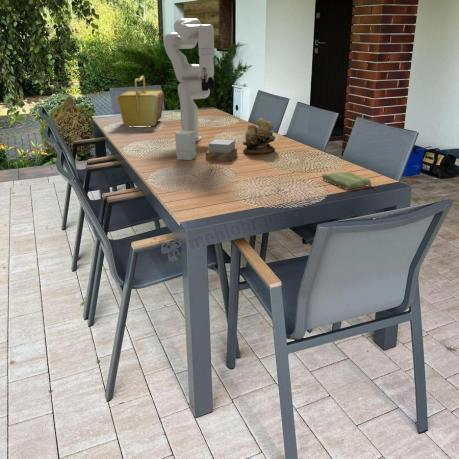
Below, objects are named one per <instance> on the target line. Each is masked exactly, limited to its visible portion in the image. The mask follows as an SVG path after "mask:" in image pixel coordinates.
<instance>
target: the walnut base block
mask: <svg viewBox="0 0 459 459" xmlns="http://www.w3.org/2000/svg"><path fill="white" fill-rule="evenodd" d="M237 156H238V148H236V147H235V149H234V150H232V151H231V152H230V153H219V152H209V150H207V151H205V160H206V161H219V162H230V161H232V160H233V159H234V158H236V157H237Z"/></svg>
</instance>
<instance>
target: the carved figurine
mask: <svg viewBox="0 0 459 459" xmlns="http://www.w3.org/2000/svg"><path fill="white" fill-rule="evenodd" d="M256 123H257V126H256V125H255V124H252V123H250V124H249V125H248V126H247V130H246V131H245V135H244V138H245V141H243V142H242V145H243V146H246V147H245V148H244V149H243V151H242V153H243V154H245V155H248V156H251V155H252V156H260V155H268V154H272V153H274V152H275V151H276V148H274V146H273V145H271V144H270V143H272V142H275V140H276V135H274V130H273V127H274V126H273V122H272V121H269V120H266V119H265V118H262V117H259V118H258V119H257V121H256Z"/></svg>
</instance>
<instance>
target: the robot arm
mask: <svg viewBox="0 0 459 459" xmlns="http://www.w3.org/2000/svg"><path fill="white" fill-rule="evenodd" d="M173 30H174V32H169V33H167V34H165V36H164V37H163V44H164V45H163V46H164V49H165V53H166V55H167V57H168V58H169V60H170V61H171V64H172V67H173V71H174V74H175V78H176V80H177V81H178V82H179V84H178V85H177V94H178V100H179V107H180V125H181V131H195V142H198V141H201V140H203V138H202V136H201V135H199V107H198V105H197V104H196V103H195V102H194V100H201V99H207V98H208V97H210V93H211V92H210V91H211V90H214V89H215V76H214V75H215V66H214V65H215V64H214V63H215V62H214V56H215V29H214V25H213V24H208V23H207V24H206V23H205V24H202V23H201V21H200V20H199V19H198V18H193V17H191V18H186V17H185V18H178V19H177V20H175V21H174V24H173ZM197 44H198V57H199V60H198V61H199V64H198V63H197V64H196V63H189V62H188V59H187V58H188V57H186V55H185V54H184V53H183V52H182V51H181V50H183V49H188V50H189V49H194V48H195V47H196V46H197ZM178 132H179V131H175V134H176V133H178Z"/></svg>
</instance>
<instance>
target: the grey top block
mask: <svg viewBox="0 0 459 459" xmlns="http://www.w3.org/2000/svg"><path fill="white" fill-rule="evenodd" d="M235 148H236V140H233V139H218V138H217V139H213V140H212V141H210V142H209V143H208V151H209V152H219V153H230V152H231V151H232V150H234V149H235Z"/></svg>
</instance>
